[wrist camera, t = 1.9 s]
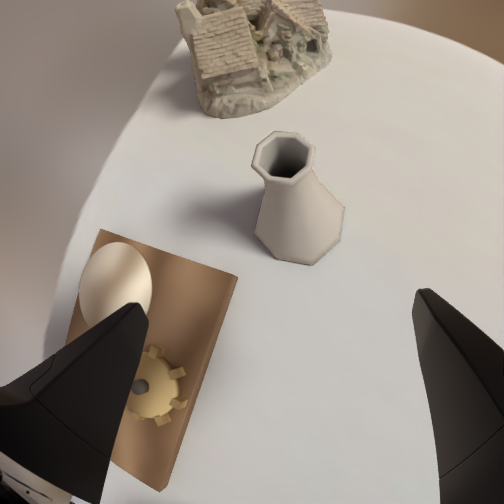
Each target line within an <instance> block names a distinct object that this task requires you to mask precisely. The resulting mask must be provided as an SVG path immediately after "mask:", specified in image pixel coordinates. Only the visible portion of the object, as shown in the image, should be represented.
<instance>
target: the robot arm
mask: <svg viewBox="0 0 504 504" xmlns="http://www.w3.org/2000/svg"><path fill="white" fill-rule="evenodd" d="M412 319H413V324H414V330H415V336H416V343H417V350H418V356H419V362H420V366H421V371H422V375H423V379H424V384H425V388H426V393H427V398H428V403H429V408H430V413H431V419H432V425H433V431H434V438H435V445H436V453H437V462H438V472H439V487H440V504H504V350H503V349H502V348H501V347H500V346H499V345H498V344H497V343H495V342H494V341H493V340H492V339H491V338H490V337H489V336H487V335H486V334H485V333H484V332H483V331H482V330H481V329H479V328H478V327H477V326H476V325H475V324H473V323H472V322H471V321H470V320H469V319H468V318H466V317H465V316H464V315H463V314H461V313H460V312H459V311H458V310H457V309H455V308H454V307H453V306H452V305H450V304H449V303H448V302H447V301H445V300H444V299H443V298H442V297H440V296H439V295H438V294H437V293H435V292H434V291H433V290H431V289H430V288H424V289H418V290H417V291H416V294H415V299H414V304H413V309H412ZM148 327H149V320H148V318H147V316H146V314H145V312H144V310H143V308H142V306H141V304H140V303H138V302H129V303H127V304H125V305H124V306H122V307H121V308H119V309H118V310H116V311H115V312H114V313H112V314H111V315H109V316H108V317H106V318H105V319H103V320H102V321H100V322H99V323H98V324H96V325H95V326H93V327H92V328H90V329H89V330H87V331H86V332H85V333H83V334H82V335H80V336H79V337H77V338H76V339H75V340H73V341H72V342H70V343H69V344H67V345H66V346H65V347H63V348H62V349H60V350H59V351H58V352H56V354H53V355H52V356H51V357H49V358H48V359H46V360H45V361H43V362H42V363H41V364H39V365H38V366H36V367H35V368H33V369H31V370H30V371H28V372H27V373H25V374H24V375H22V376H20V377H19V378H17V379H16V380H14V381H12V382H11V383H9V384H7V385H6V386H3V387H0V504H75V503H73V502H71V499H72V496H76V497H78V498H80V499H82V500H84V501H86V502H89V503H91V504H100V500H101V496H102V491H103V487H104V483H105V479H106V475H107V471H108V467H109V463H110V459H111V455H112V451H113V448H114V444H115V440H116V437H117V433H118V430H119V426H120V423H121V420H122V416H123V413H124V410H125V407H126V403H127V400H128V397H129V394H130V391H131V388H132V385H133V382H134V379H135V376H136V373H137V370H138V367H139V364H140V360H141V356H142V352H143V348H144V344H145V339H146V335H147V331H148Z"/></svg>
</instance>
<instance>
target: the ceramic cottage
mask: <svg viewBox="0 0 504 504" xmlns="http://www.w3.org/2000/svg"><path fill="white" fill-rule="evenodd" d="M175 12H176V15H177V17H178V20H179V23H180V29H181V34H182V36H183V37H184V39H185V41H186V42H187V45H188V47H189V50H190V53H191V56H192V70H193V72H194V75H195V76H194V79H195V80H196V87H197V96H198V100H199V103H200V106H201V108H202V109H203V111H204V113H206V114H208V115H210V116H212V117H215V118H220V119H227V118H238V117H242V116H247V115H251V114H254V113H257V112H258V111H260V112H261V111H262V110H266V109H269V108H272V107H273V106H275V105H276V104H277V103H279V102H280V101H281V100H283V99H284V98H285V97H286V96H288V95H289V94H290V93H291V92H293V91H294V90H295V89H296V88H298V87H299V86H300V85H302V84H303V83H304V82H305V81H306V80H308V79H310V78H311V77H312V76H314V75H315V74H317V73H318V72H319V71H321V70H322V69H323V68H325V67H327V65H328V64H329V63H330V62H331V58H332V53H331V50H330V48H329V44H328V42H327V39H328V35H327V34H328V33H329V30H328V23H327V22H326V21H325V19H326V17H325V16H324V13H323V9H322V6H321V3H320V0H197V4H196V6H195V5H194V4H193V3H192V2H191V1H189V0H186V1H184V2H181V3H179V4H178V5H176V8H175Z"/></svg>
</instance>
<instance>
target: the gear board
mask: <svg viewBox="0 0 504 504" xmlns="http://www.w3.org/2000/svg"><path fill="white" fill-rule="evenodd" d="M237 280H238V277H236V276H235V275H233V274H230V273H227V272H224V271H221V270H218V269H215V268H212V267H209V266H206V265H203V264H200V263H197V262H194V261H191V260H188V259H185V258H182V257H179V256H176V255H173V254H170V253H168V252H165V251H162V250H159V249H156V248H153V247H150V246H148V245H145V244H142V243H139V242H136V241H133V240H131V239H128V238H125V237H122V236H119V235H117V234H114V233H111V232H108V231H106V230H103V229H100V231H99V234H98V236H97V239H96V242H95V244H94V247H93V250H92V253H91V256H90V259H89V261H88V262H87V264H86V266H85V268H84V271H83V273H82V277H81V280H80V287H79V293H78V297H77V300H76V304H75V308H74V311H73V315H72V319H71V323H70V327H69V332H68V336H67V340H66V345H67V344H69V343H70V342H72V341H73V340H75V339H76V338H77V337H79V336H80V335H82V334H83V333H85V332H86V331H87V330H89V329H90V328H92V327H93V326H95V325H96V324H98V323H99V322H100V321H102V320H103V319H105V318H106V317H108V316H109V315H111V314H112V313H114V312H115V311H116V310H118V309H119V308H121V307H122V306H124V305H125V304H127V303H129V302H138V303H140V304H141V306H142V308H143V310H144V312H145V314H146V316H147V318H148V320H149V327H148V331H147V335H146V339H145V344H144V348H143V352H142V356H141V360H140V364H139V367H138V370H137V373H136V376H135V379H134V382H133V385H132V388H131V391H130V394H129V397H128V400H127V403H126V407H125V410H124V413H123V416H122V420H121V423H120V426H119V430H118V433H117V437H116V440H115V444H114V448H113V451H112V455H111V459H110V460H111V461H112V462H113V463H115V464H116V465H117V466H119V467H120V468H122V469H123V470H125V471H126V472H128V473H129V474H131V475H132V476H134V477H135V478H137V479H138V480H140V481H141V482H143V483H145V484H146V485H148V486H149V487H151V488H153V489H155V490H156V491H158V492H161V491H162V490H163V489H164V488H165V487H167V485H168V482H169V479H170V476H171V473H172V470H173V467H174V464H175V461H176V458H177V455H178V452H179V449H180V446H181V443H182V440H183V437H184V434H185V431H186V428H187V425H188V422H189V419H190V416H191V414H192V411H193V408H194V405H195V402H196V399H197V396H198V393H199V390H200V387H201V384H202V381H203V378H204V375H205V372H206V370H207V367H208V364H209V361H210V358H211V355H212V352H213V349H214V346H215V343H216V340H217V337H218V335H219V332H220V329H221V326H222V323H223V320H224V317H225V314H226V311H227V308H228V306H229V303H230V300H231V297H232V294H233V291H234V288H235V285H236V282H237ZM66 345H65V346H66Z"/></svg>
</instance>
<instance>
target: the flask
mask: <svg viewBox="0 0 504 504" xmlns="http://www.w3.org/2000/svg"><path fill="white" fill-rule="evenodd" d="M314 155H315V146H314V145H313V144H311V143H310V142H309V141H308V140H306V139H305V138H304V137H302V136H301V135H300V134H299V133H294V132H281V131H274V132H272V133H271V134H270V135H269V136H267V137H266V138H265V139H264V140H262V141H261V142H260V143H259V144H257V145H256V149H255V153H254V157H253V160H252V164H251V167H252V168H253V169H254V170H255V171H256V172H257V173H258V174H259V175H260V176H261V177H262V178H263V179H264V182H265V194H264V196H263V199H262V203H261V207H260V211H259V216H258V220H257V224H256V228H255V232H254V234H255V235H256V236H257V237H258V238H259V239H260V241H261V242H262V243H263V244H264V245H265V246H266V247H267V248H268V249H269V251H270V252H271V253H272V254H273V255H274V256H275V257H276V258H277V259H280V260H285V261H291V262H296V263H302V264H307V265H314V264H315V263H317V262H318V261H319V260H320V259H321V258H322V257H323V256H324V255H325V254H326V253H327V252H328V251H330V250H331V249H332V248H333V247H334V246H335V245H336V244H337V243H338V242H339V241H340V237H341V231H342V224H343V217H344V210H345V207H344V206H343V205H342V203H340V202H339V201H338V200H337V199H336V198H335V197H334V196H333V195H332V194H331V193H330V192H329V191H328V190H327V189H326V188H325V187H324V186H323V185H322V184H321V183H320V182H319V181H318V179H317V177H316V175H315V173H314V171H313V169H312V167H313V161H314Z"/></svg>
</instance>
